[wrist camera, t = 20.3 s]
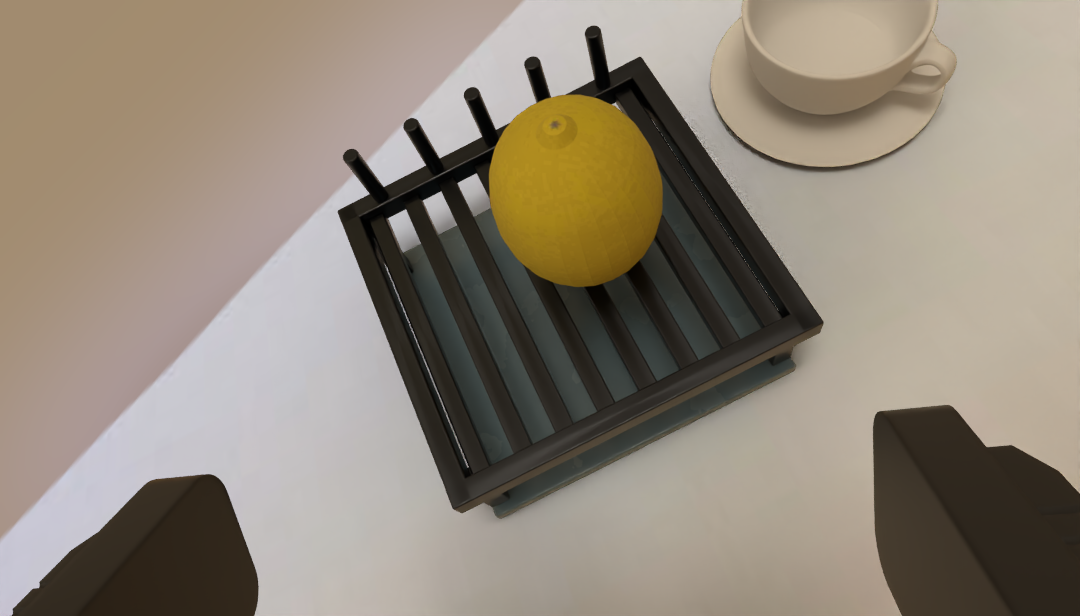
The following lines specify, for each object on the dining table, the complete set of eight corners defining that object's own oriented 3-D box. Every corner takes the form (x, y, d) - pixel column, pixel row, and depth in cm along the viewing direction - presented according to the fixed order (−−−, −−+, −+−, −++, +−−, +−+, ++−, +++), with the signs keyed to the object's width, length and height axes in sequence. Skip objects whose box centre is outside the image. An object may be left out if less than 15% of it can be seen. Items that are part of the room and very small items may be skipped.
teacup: (670, 120, 36) (665, 52, 32) (775, -33, 38) (783, -116, 34) (879, 209, 32) (905, 145, 28) (983, 34, 34) (1021, -50, 30)
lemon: (525, 329, 28) (461, 225, 21) (517, 198, 30) (457, 62, 23) (678, 309, 27) (666, 193, 20) (659, 175, 30) (642, 27, 22)
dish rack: (650, 130, 36) (634, 0, 29) (807, 370, 30) (837, 285, 23) (385, 265, 36) (301, 170, 29) (492, 528, 30) (422, 495, 23)
